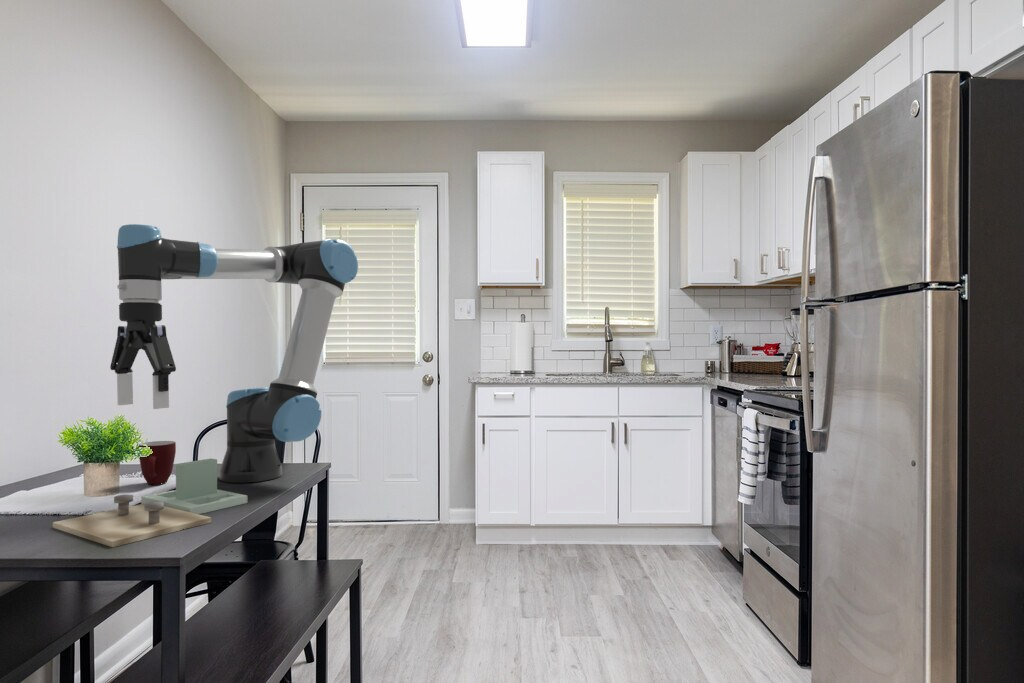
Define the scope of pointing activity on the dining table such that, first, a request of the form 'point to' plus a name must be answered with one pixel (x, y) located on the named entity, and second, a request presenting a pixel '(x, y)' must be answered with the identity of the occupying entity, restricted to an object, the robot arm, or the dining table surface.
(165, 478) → the mug
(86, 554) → the dining table surface
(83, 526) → the boss board
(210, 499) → the panel
